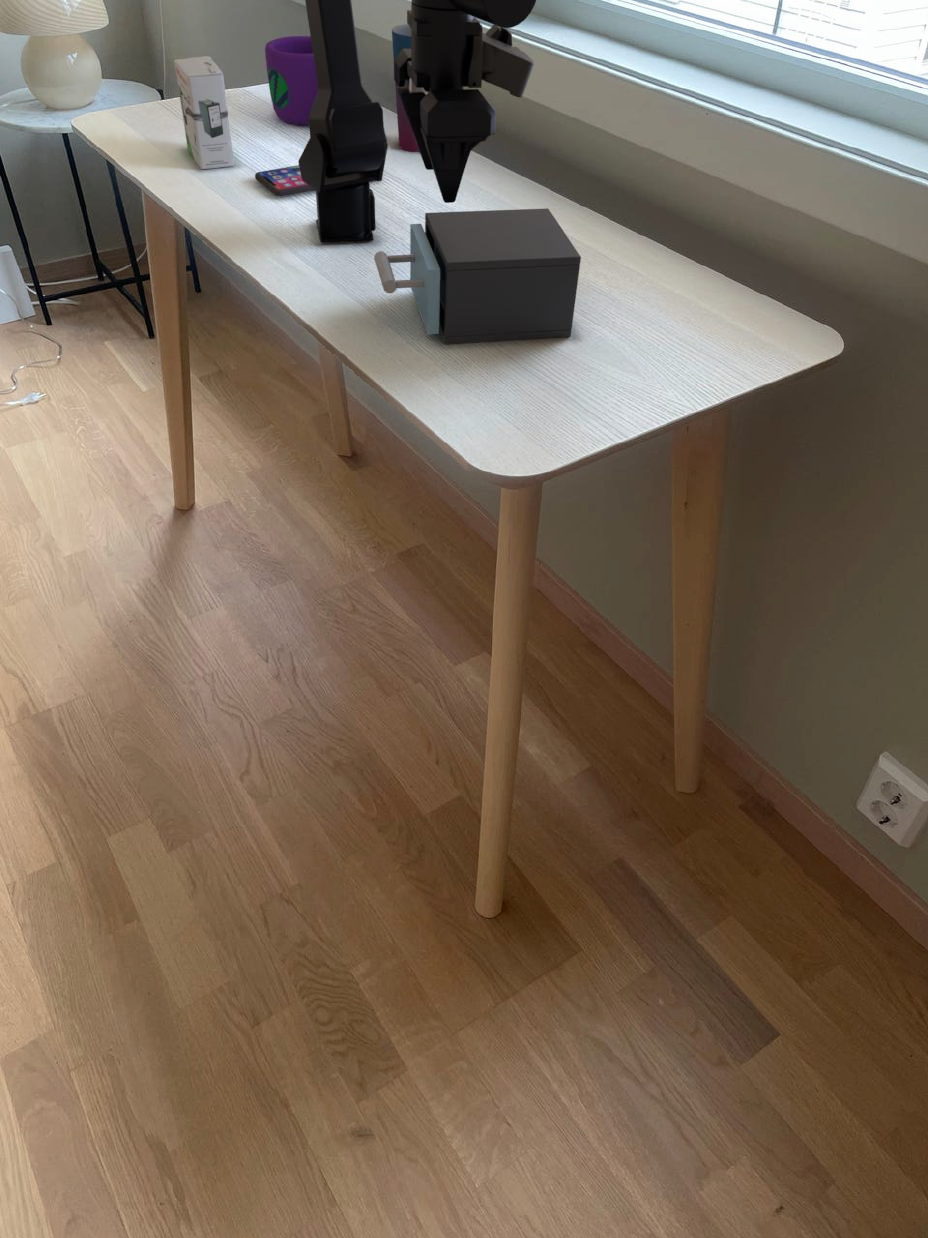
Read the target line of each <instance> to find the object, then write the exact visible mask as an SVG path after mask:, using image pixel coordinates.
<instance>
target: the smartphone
mask: <svg viewBox="0 0 928 1238" xmlns="http://www.w3.org/2000/svg"><path fill="white" fill-rule="evenodd" d="M254 179H255V180H256V181H258V182H259V184H261V185H262V186H264V187H265V188H266V189H267V190H268V191H269V192H271V193H272V194H273V195H275V197H280V198H281V197H287V196H293V195H299V194H304V193H308V192H309V193H310V192H314V191H315V192H316V190H315V189H314V188H312V187H311V186H309V185H308V184H307V183H305V182H304V181H303V180H302V177H301V173H300V168H299V164H297V165H292V166H285V167H280V168H274V169H269V170H268V169H267V170H262V171H258V172H256V173H255V174H254Z"/></svg>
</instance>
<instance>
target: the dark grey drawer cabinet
mask: <svg viewBox="0 0 928 1238" xmlns="http://www.w3.org/2000/svg"><path fill="white" fill-rule="evenodd" d="M424 215H425V217H424V220H425V221H424V222H425V223H424V232H425V234H426V236H427V239H428V241H429V244H430V246H431V248H432V251H433V253H434V241H435V244H436V246H437V248H438V251H439V253H440V255H441V258H442V260H443V262H444V265H445V267H446V268H445V302H444V310H443V307H442V305H441V302H440V310H439V334H440V336H441V338H442V341H443V344H444V345H455V344H456V345H457V344H472V343H473V344H474V343H490V342H504V341H521V340H536V339H538V340H539V339H554V338H568V337H569V338H570V337H571V335H572V328H573V321H574V314H575V305H576V300H577V292H578V291H577V290H578V283H579V277H580V270H581V269H580V268H581V262H582V261H581V260H582V256H581V255H580V253H579V252H578V250H577V249H576V247H575V246H574V244H573V243H572V241H571V240H570V238H569V237H568V235H567V234H566V232H565V231H564V230H563V228H562V226H561V225H560V224H559V222H558V221H557V219H556V217H555V216H554V215H553V213H552V212H551V211H550V209H549V208H525V209H523V208H521V209H519V208H518V209H497V210H496V209H495V210H469V211H468V210H467V211H464V210H463V211H439V212H437V211H436V212H425V213H424Z"/></svg>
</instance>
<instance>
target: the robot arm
mask: <svg viewBox="0 0 928 1238" xmlns="http://www.w3.org/2000/svg"><path fill="white" fill-rule="evenodd" d="M410 1H411V2H410V4H411V7H410V9H407V10H406V25H407V24H408V25H409V26H410V28H411V49H402V50H401V51H400V53H399V54H398V55H397V56H396V57H395V59H394V58H393V80H394V83H395V82H396V84H397V85H398V87H397V90H398V93H399V95H400V98H401V101H402V104H403V106H404V109H405V112H406V115H407V118H408V120H409V123H410V126H411V129H412V132H413V134H414V137H415V140H416V143H417V145H418V148H419V151H420V152H419V154H420V157H421V161H422V163H423V165H424V168H425V170H427V171H433V173H434V175H435V179H436V183H437V186H438V189H439V192H440V195H441V197H442V201H443V202H444V203H446V204H449V203H451V204H452V203H455V202H456V199H457V197H458V194H459V190H460V186H461V183H462V180H463V177H464V172H465V169H466V166H467V163H468V160H469V158H470V154H471V152H472V150H473V149H474V148H475V147H477V146H478V145H479V144H480V143H483V142H486V141H487V140H488V139H489V137H490V136H492V135H495V134H496V121H497V120H496V119H497V111H496V109H495V108H494V107H493V106H492V104H491V103H490V102H489V100H488V99H487V98H486V97H485V96H484V95H483V93H482V92H481V91H480V89H482V85H483V81H484V82H486V83H488V84H491V85H493V86H495V87H498V88H501V89H502V90H506V91H507V92H509V94H510V95H511V96H513V97H516V98H522V97H523V95H524V92H525V89H526V87H527V85H528V82H529V79H530V77H531V74H532V72H533V69H534V67H535V64H536V63H535V61H534V60H533V59H532V58H531V57H530V56H529V55H528V54H527V53H526V52H524V51H522V50H521V49H520V48H519V47H517V46H513V34H512V32H510V30H509V29H512V28H514V27H517V26H519V25H521V24H522V23H523V22H524V21H525V20H526V19H527V18H528V17H529V15H530V14H531V13H532V11H533V9H534V7H535V6H536V2H537V0H410ZM304 2H305V9H306V14H307V22H308V28H309V33H310V34H309V36H311V42H312V49H313V56H314V62H315V69H316V76H317V83H318V92H317V95H316V98H315V101H314V104H313V106H312V109H311V112H310V115H309V125H308V128H309V129H308V130H309V139H308V141H307V143H306V145H305V147H304V149H303V150H302V153H301V155H300V157H299V159H298V165H299V168H300V173H301V177H302V180H303V181H304V182H305V183H307V184H308V185H309V186H311V187H312V188H314V189H315V201H316V202H315V203H316V213H317V214H316V215H317V219H315V224H316V228H317V229H316V230H317V234H318V238H319V243H321V244H341V243H365V242H373V241H374V239H375V238H374V234H373V232H375V231H376V227H377V226H376V198H375V194H374V192H373V190H372V188H371V187H370V185H371V184H370V183H373V182H381V181H382V180H383V175H384V170H385V165H386V159H387V153H388V138H387V135H386V131H385V124H384V110H383V107H382V106H381V103H380V102H379V101H373V99H372V98H371V97H370V95H369V93H368V92H367V90H366V89H365V87H364V86H363V82H362V75H361V68H360V59H359V51H358V43H357V35H356V27H355V20H354V13H353V11H354V10H353V3H352V0H304ZM480 20H481V21H484V22H486V23H489V24H491V25H492V26H491V27H490V28H489V29H487V31H486V32H483V31H484V29H483V25H482V24H481V22H480ZM405 82H406V86H404V85H405ZM466 87H467V88H468V89H467V88H466ZM464 88H465V89H464Z"/></svg>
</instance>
